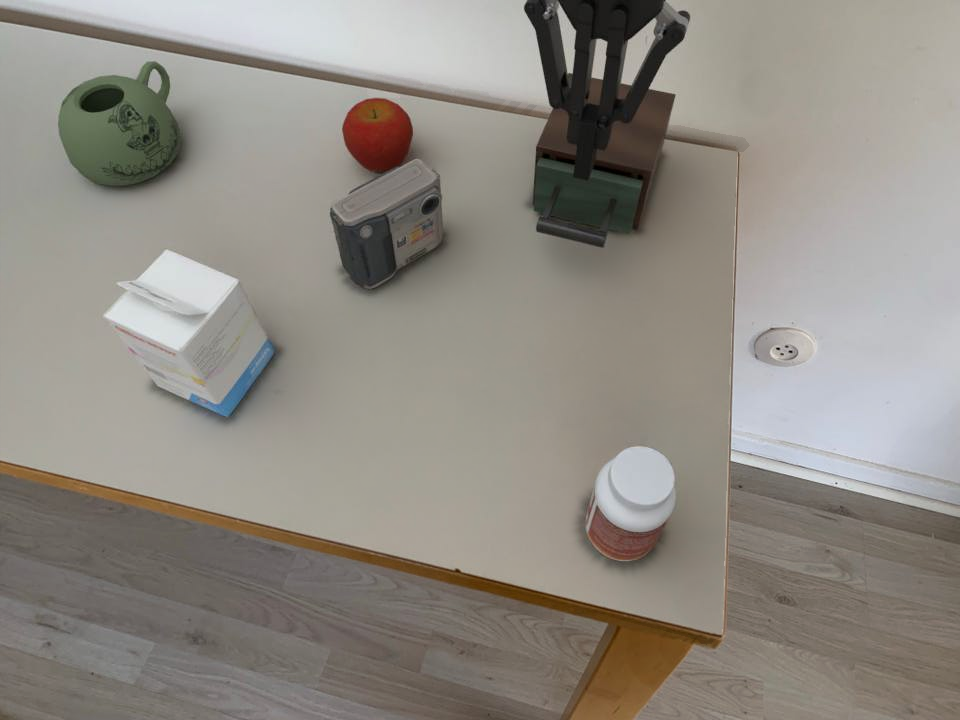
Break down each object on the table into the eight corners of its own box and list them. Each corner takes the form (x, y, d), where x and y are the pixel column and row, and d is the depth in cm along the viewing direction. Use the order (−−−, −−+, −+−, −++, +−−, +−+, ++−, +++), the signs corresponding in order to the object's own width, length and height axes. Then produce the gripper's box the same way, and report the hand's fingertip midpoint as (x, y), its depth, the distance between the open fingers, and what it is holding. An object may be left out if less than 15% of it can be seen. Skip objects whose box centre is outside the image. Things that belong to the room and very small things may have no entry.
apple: (421, 178, 85) (415, 124, 79) (354, 190, 84) (342, 136, 78) (409, 134, 89) (403, 79, 83) (345, 145, 89) (334, 90, 82)
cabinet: (637, 230, 80) (651, 171, 73) (532, 205, 83) (536, 145, 76) (660, 155, 87) (675, 94, 80) (562, 133, 89) (568, 72, 82)
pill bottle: (667, 554, 61) (699, 506, 52) (596, 570, 60) (615, 523, 51) (643, 486, 64) (669, 429, 55) (575, 500, 64) (590, 445, 54)
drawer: (616, 278, 76) (626, 233, 70) (516, 252, 78) (518, 207, 72) (652, 163, 85) (663, 115, 79) (561, 144, 87) (566, 95, 81)
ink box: (277, 352, 73) (238, 265, 61) (226, 420, 69) (174, 340, 57) (208, 322, 75) (156, 232, 63) (154, 386, 71) (89, 302, 59)
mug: (140, 207, 83) (107, 148, 76) (53, 175, 87) (13, 115, 79) (223, 122, 91) (200, 61, 84) (141, 95, 94) (111, 33, 87)
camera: (363, 297, 76) (347, 231, 68) (336, 263, 79) (317, 195, 70) (453, 247, 80) (449, 178, 71) (424, 216, 82) (416, 146, 74)
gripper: (724, -101, 51) (659, 158, 71) (544, -128, 53) (530, 130, 73) (706, -45, 47) (642, 212, 67) (513, -77, 50) (507, 180, 70)
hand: (584, 169), depth 70 cm, fingers closed
